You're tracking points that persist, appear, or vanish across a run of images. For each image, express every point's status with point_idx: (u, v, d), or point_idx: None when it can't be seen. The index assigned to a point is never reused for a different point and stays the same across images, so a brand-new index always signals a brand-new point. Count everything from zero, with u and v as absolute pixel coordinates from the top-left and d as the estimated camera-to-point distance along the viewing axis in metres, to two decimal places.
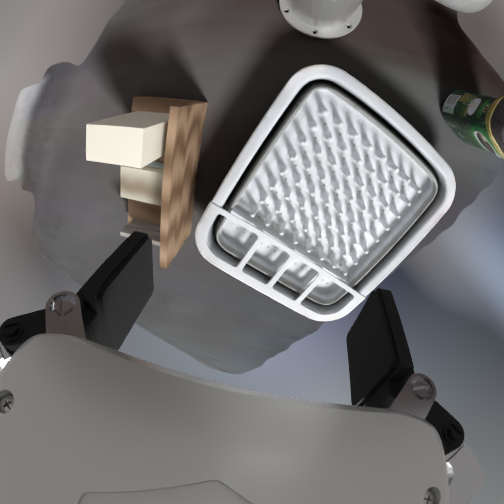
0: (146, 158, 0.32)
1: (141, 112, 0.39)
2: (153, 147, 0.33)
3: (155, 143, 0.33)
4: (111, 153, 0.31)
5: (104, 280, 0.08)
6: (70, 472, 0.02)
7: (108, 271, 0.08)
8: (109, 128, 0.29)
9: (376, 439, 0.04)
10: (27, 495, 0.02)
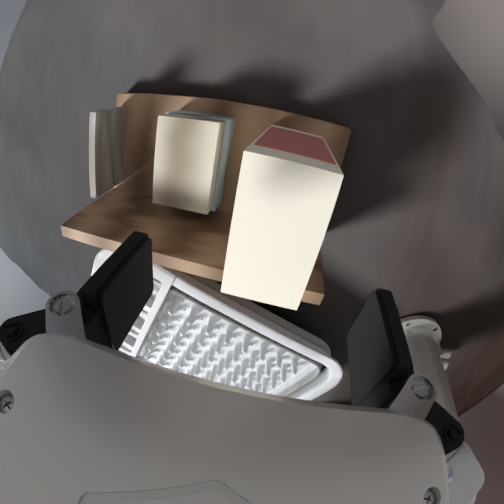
0: None
1: None
2: None
3: None
4: (254, 234, 0.15)
5: (104, 279, 0.08)
6: (70, 472, 0.02)
7: (108, 271, 0.08)
8: (315, 242, 0.15)
9: (376, 439, 0.04)
10: (27, 495, 0.02)
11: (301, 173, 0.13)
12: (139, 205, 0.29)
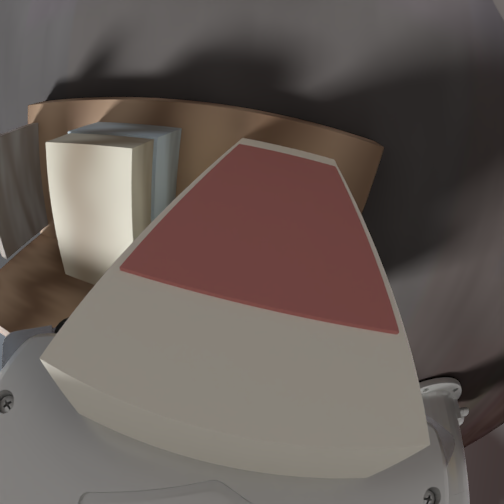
0: None
1: None
2: None
3: None
4: None
5: None
6: (70, 472, 0.02)
7: None
8: None
9: None
10: (27, 495, 0.02)
11: (268, 454, 0.03)
12: (62, 265, 0.18)
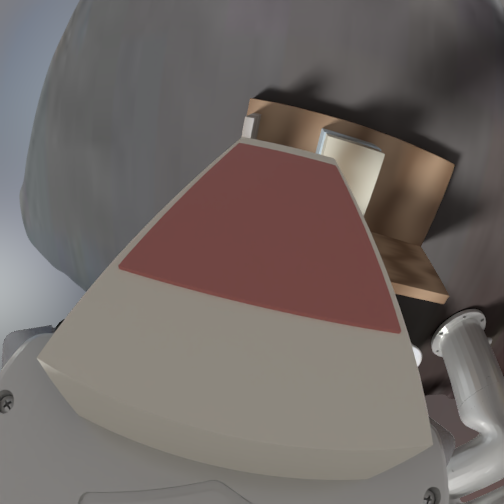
0: None
1: None
2: None
3: None
4: None
5: None
6: (70, 472, 0.02)
7: None
8: None
9: None
10: (27, 495, 0.02)
11: (269, 455, 0.03)
12: None
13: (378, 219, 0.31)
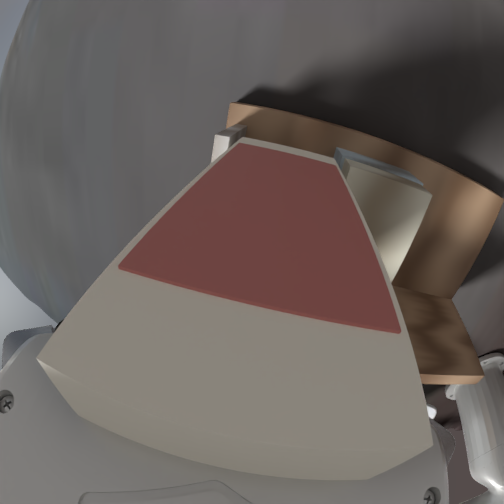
0: None
1: None
2: None
3: None
4: None
5: None
6: (70, 472, 0.02)
7: None
8: None
9: None
10: (27, 495, 0.02)
11: (269, 455, 0.03)
12: None
13: (405, 270, 0.23)
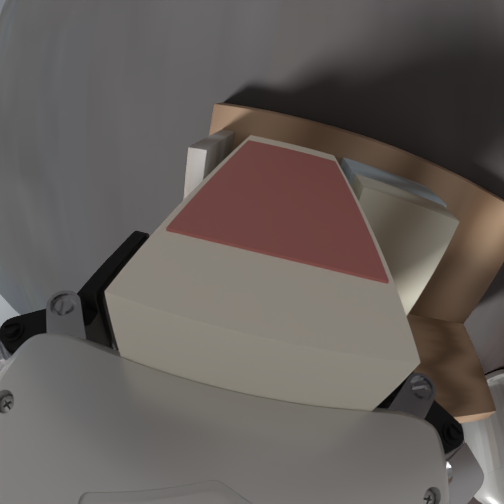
0: None
1: None
2: None
3: None
4: None
5: (105, 280, 0.08)
6: (70, 472, 0.02)
7: (109, 271, 0.08)
8: None
9: (376, 439, 0.04)
10: (27, 495, 0.02)
11: (292, 364, 0.04)
12: None
13: None
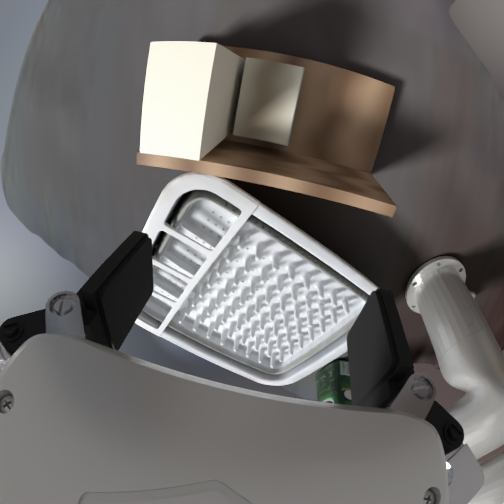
0: None
1: (241, 71, 0.26)
2: None
3: None
4: (159, 97, 0.17)
5: (104, 280, 0.08)
6: (70, 472, 0.02)
7: (108, 271, 0.08)
8: (202, 94, 0.17)
9: (376, 439, 0.04)
10: (27, 495, 0.02)
11: (187, 47, 0.15)
12: None
13: (318, 144, 0.31)
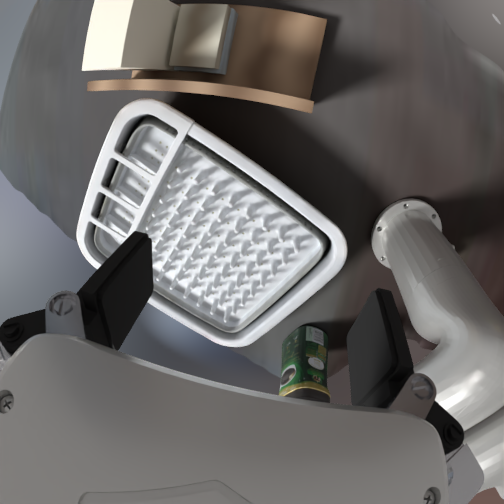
0: (96, 69, 0.20)
1: None
2: None
3: None
4: (98, 27, 0.17)
5: (104, 280, 0.08)
6: (70, 472, 0.02)
7: (108, 271, 0.08)
8: (125, 19, 0.16)
9: (376, 439, 0.04)
10: (27, 495, 0.02)
11: None
12: None
13: (254, 74, 0.30)
